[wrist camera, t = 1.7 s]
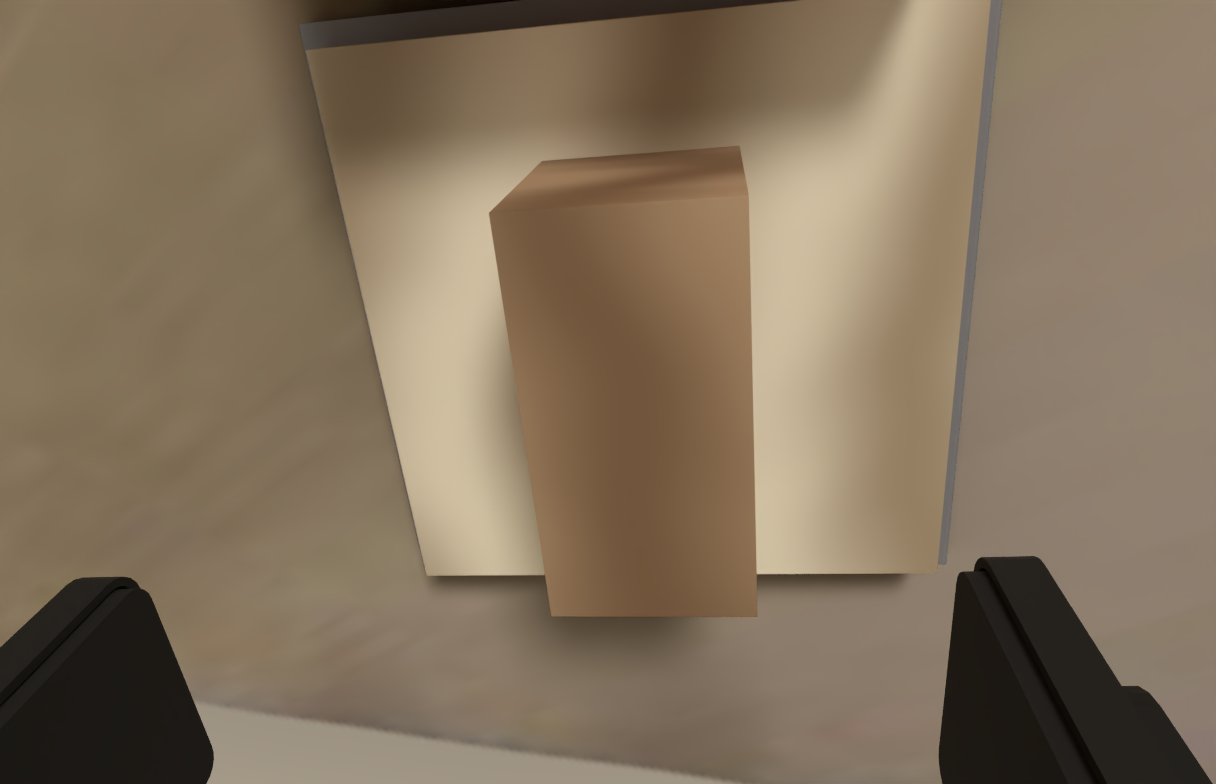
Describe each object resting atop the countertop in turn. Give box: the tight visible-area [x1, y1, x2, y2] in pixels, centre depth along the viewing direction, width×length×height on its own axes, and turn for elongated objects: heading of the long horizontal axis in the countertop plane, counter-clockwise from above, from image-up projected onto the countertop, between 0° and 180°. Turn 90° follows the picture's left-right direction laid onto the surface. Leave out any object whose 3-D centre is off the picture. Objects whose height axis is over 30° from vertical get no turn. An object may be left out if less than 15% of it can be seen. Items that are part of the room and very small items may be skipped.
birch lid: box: [306, 0, 991, 617], centre depth 17 cm, size 13×13×6 cm
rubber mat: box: [298, 0, 1002, 568], centre depth 19 cm, size 14×14×1 cm
